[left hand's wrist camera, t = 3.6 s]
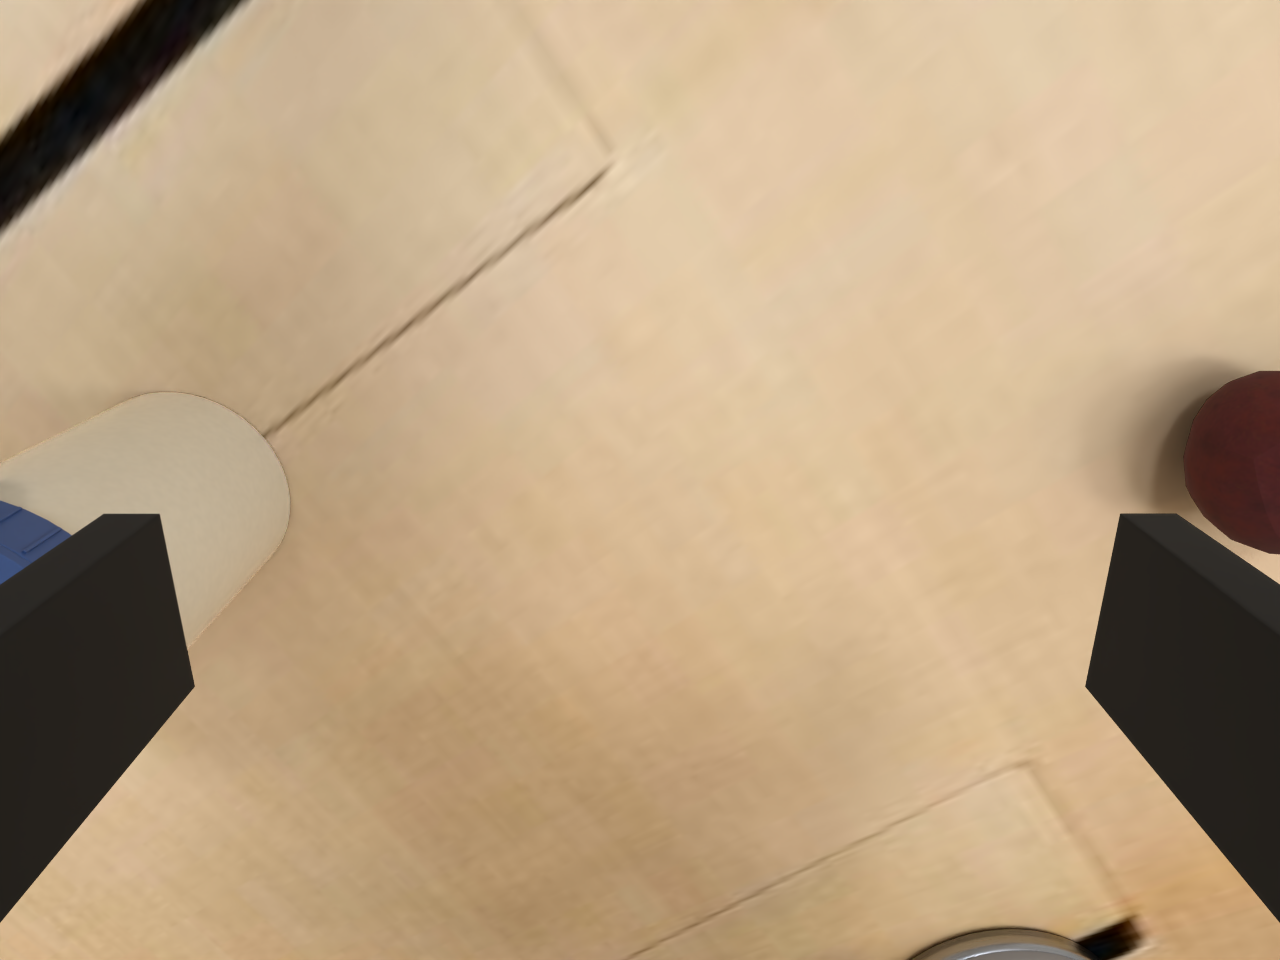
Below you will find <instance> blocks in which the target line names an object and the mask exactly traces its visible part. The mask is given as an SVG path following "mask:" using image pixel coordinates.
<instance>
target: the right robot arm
mask: <svg viewBox="0 0 1280 960" xmlns="http://www.w3.org/2000/svg"><path fill="white" fill-rule="evenodd" d="M912 960H1101V959H1100V958H1099V957H1097V956H1096V955H1095V954H1094V953H1092V952H1091V951H1089V950H1088V949H1086V948H1085V947H1083V946H1081V945H1079V944H1077V943H1075V942H1073V941H1071V940H1069V939H1066V938H1063V937H1061V936H1057V935H1053V934H1050V933H1045V932H1040V931H1033V930H1023V929H1002V930H991V931H983V932H978V933H973V934H969V935H965V936H961V937H958V938H955V939H952V940H949V941H946V942H944V943H941V944H939V945H937V946H934V947H932V948H931V949H929V950H927V951H925V952H923V953H921V954H920V955H918V956H917V957H915V958H913V959H912Z"/></svg>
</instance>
